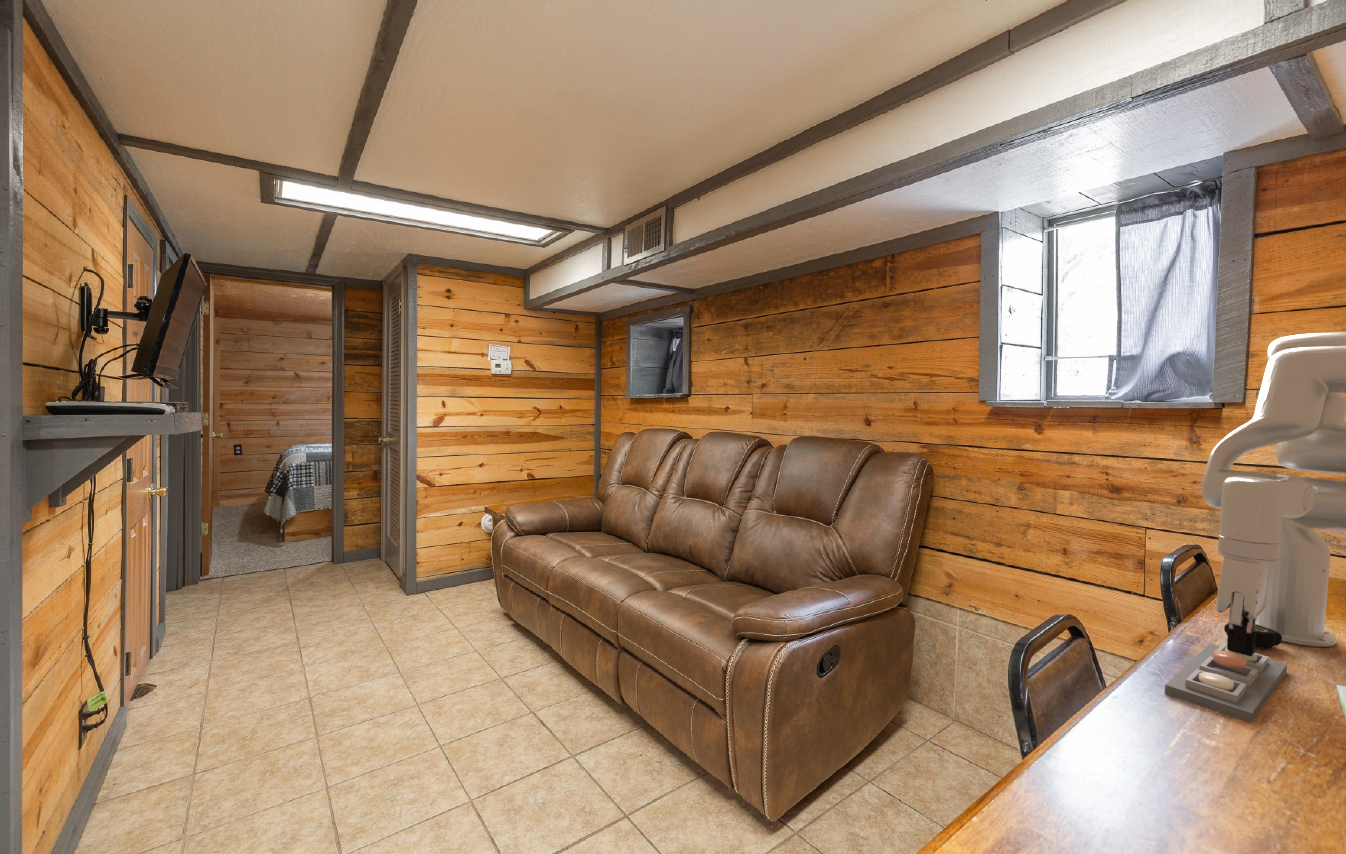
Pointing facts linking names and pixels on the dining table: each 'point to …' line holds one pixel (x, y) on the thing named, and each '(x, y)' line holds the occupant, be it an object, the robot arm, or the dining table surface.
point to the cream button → (1216, 681)
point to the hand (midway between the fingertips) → (1240, 652)
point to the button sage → (1249, 658)
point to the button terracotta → (1229, 659)
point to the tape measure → (1263, 637)
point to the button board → (1247, 688)
